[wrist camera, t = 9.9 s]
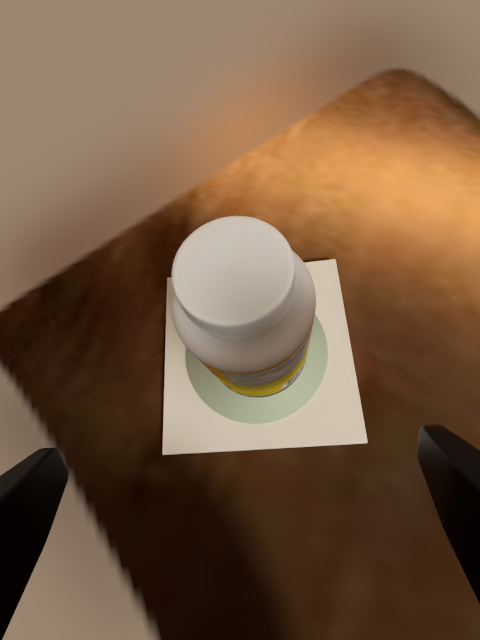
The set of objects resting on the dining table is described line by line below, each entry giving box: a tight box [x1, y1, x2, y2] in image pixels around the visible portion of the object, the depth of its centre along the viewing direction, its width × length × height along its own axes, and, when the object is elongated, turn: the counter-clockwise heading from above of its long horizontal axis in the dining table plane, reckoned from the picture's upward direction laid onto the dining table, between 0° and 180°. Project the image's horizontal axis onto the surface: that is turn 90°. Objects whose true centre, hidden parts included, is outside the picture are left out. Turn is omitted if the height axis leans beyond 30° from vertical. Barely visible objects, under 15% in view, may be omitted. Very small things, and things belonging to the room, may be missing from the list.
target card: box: [162, 259, 368, 455], centre depth 21 cm, size 11×11×1 cm
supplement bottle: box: [171, 216, 316, 398], centre depth 16 cm, size 6×6×10 cm
